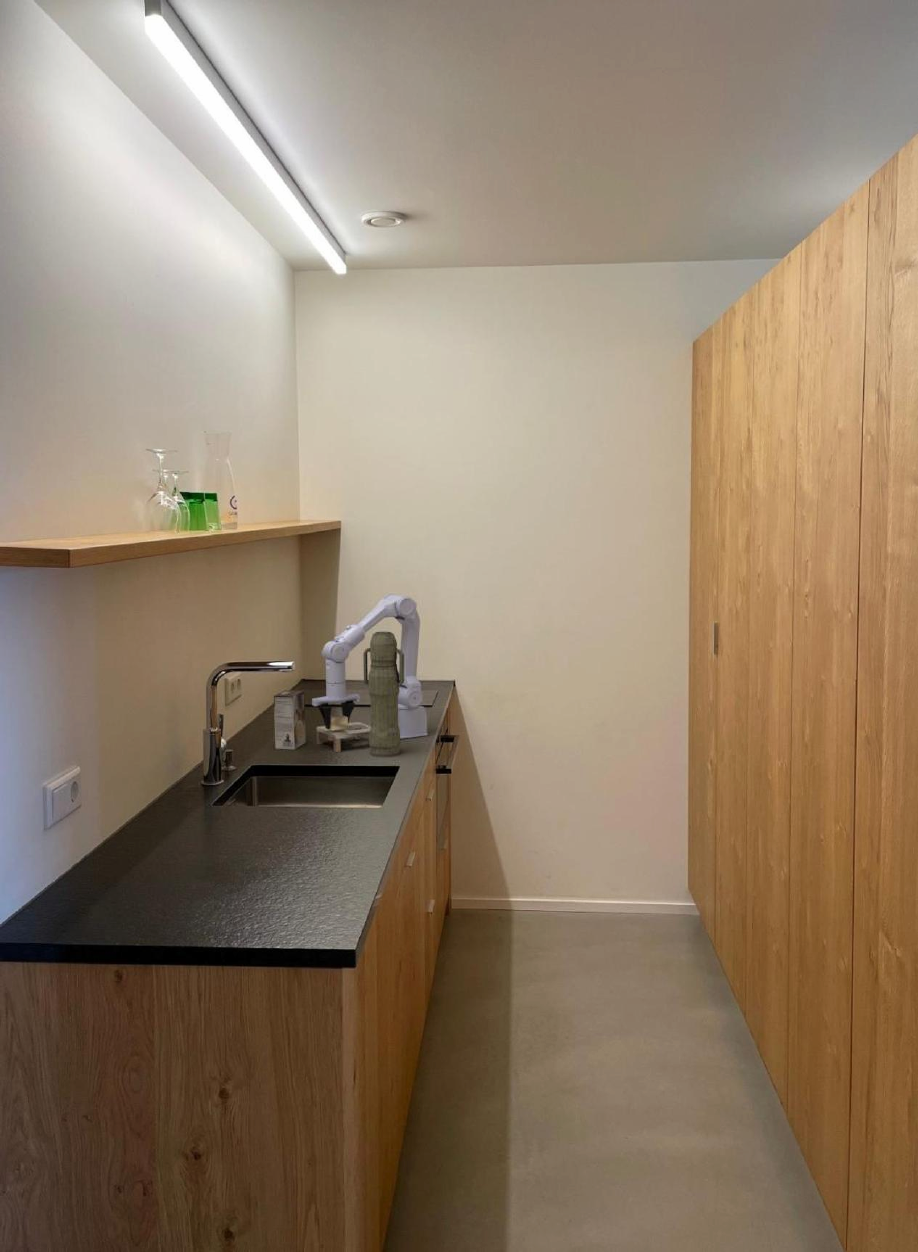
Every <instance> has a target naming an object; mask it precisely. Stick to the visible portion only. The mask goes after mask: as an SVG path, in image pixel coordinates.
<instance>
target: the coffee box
mask: <svg viewBox="0 0 918 1252" xmlns="http://www.w3.org/2000/svg"><path fill="white" fill-rule="evenodd" d="M305 701H306V700H305V690H291V689H290V690H288V689H287V690H283V691H280V692H279V693H277V694H275V695H273V712H274V714H273V715H274V740H275V741H274V743H275V746H274V748H275V749H276V750H296V749H298V748H299V747H301V746H302V745H304V744H306V743H307V739H306V738H307V737H306V736H307V735H306V733H307V731H306V705H305V704H306V702H305Z"/></svg>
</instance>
